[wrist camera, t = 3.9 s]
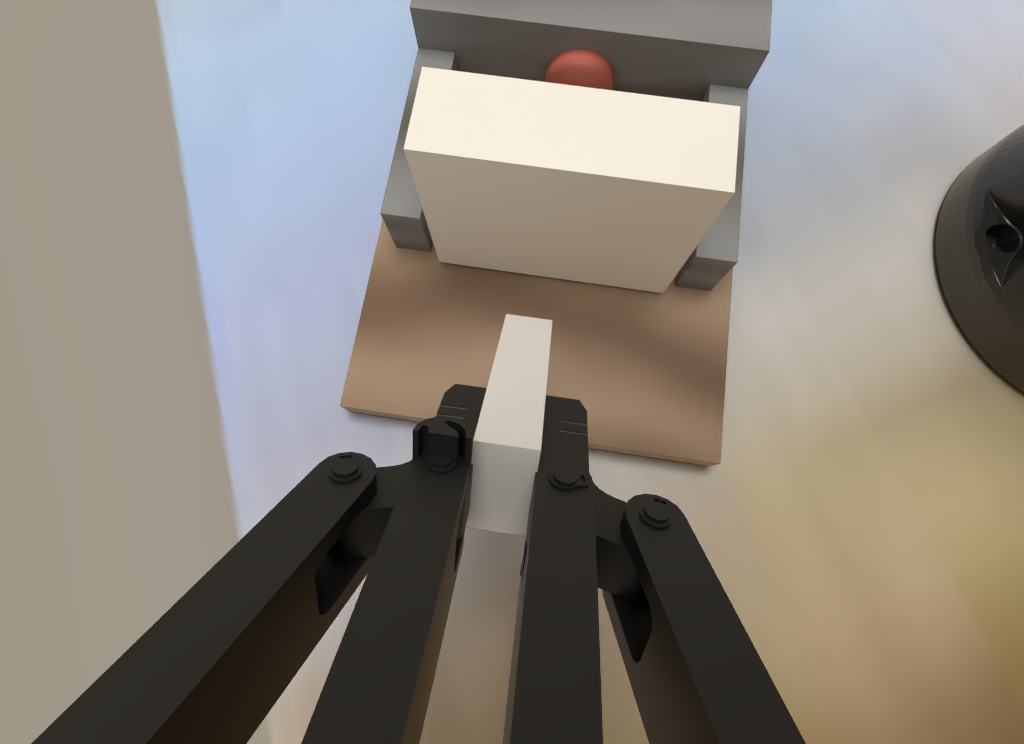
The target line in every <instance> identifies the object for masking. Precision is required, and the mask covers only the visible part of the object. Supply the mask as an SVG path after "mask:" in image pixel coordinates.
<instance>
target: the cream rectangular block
mask: <svg viewBox="0 0 1024 744" xmlns="http://www.w3.org/2000/svg"><path fill="white" fill-rule="evenodd" d="M739 120H740V106H733V105H725V104H717V103H709V102H701V101H693V100H685V99H677V98H669V97H661V96H653V95H645V94H637V93H629V92H621V91H613V90H605V89H597V88H589V87H581V86H573V85H565V84H557V83H549V82H541V81H533V80H525V79H517V78H509V77H501V76H493V75H485V74H477V73H469V72H461V71H453V70H445V69H437V68H429V67H422V70H421V74H420V78H419V83H418V87H417V92H416V96H415V101H414V105H413V109H412V114H411V118H410V123H409V127H408V131H407V136H406V140H405V145H404V152H405V155H406V158H407V162H408V165H409V168H410V171H411V174H412V177H413V181H414V184H415V187H416V190H417V193H418V196H419V200H420V203H421V206H422V209H423V212H424V215H425V218H426V222H427V225H428V228H429V231H430V234H431V237H432V241H433V244H434V247H435V250H436V253H437V256H438V260H439V262H443V263H450V264H458V265H465V266H472V267H479V268H486V269H493V270H500V271H508V272H515V273H522V274H529V275H536V276H543V277H550V278H558V279H565V280H572V281H579V282H586V283H593V284H600V285H608V286H615V287H622V288H629V289H636V290H643V291H651V292H658V293H664V292H665V290H666V289H667V287H668V286H669V285H670V283H671V282H672V280H673V279H674V278H675V276H676V275H677V273H678V272H679V270H680V269H681V268H682V266H683V265H684V263H685V262H686V261H687V259H688V258H689V256H690V255H691V254H692V252H693V251H694V249H695V248H696V247H697V245H698V244H699V242H700V241H701V239H702V238H703V237H704V235H705V234H706V232H707V231H708V230H709V228H710V227H711V225H712V224H713V223H714V221H715V220H716V218H717V217H718V216H719V214H720V213H721V211H722V210H723V208H724V207H725V206H726V204H727V203H728V201H729V200H730V199H731V197H732V196H733V194H734V193H735V181H736V166H737V150H738V135H739Z"/></svg>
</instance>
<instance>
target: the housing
mask: <svg viewBox="0 0 1024 744" xmlns="http://www.w3.org/2000/svg"><path fill="white" fill-rule="evenodd" d="M410 11H411V15H412V20H413V25H414V29H415V34H416V39H417V43H418V52H417V57H416V61H415V65H414V70H413V74H412V78H411V83H410V87H409V91H408V96H407V100H406V104H405V109H404V113H403V117H402V122H401V126H400V130H399V135H398V139H397V143H396V148H395V152H394V157H393V161H392V165H391V170H390V174H389V178H388V183H387V187H386V191H385V196H384V200H383V204H382V209H381V216H382V218H383V220H382V225H381V229H380V233H379V238H378V242H377V246H376V251H375V255H374V260H373V264H372V268H371V273H370V277H369V281H368V286H367V290H366V295H365V299H364V303H363V308H362V312H361V316H360V321H359V325H358V330H357V334H356V338H355V343H354V347H353V351H352V356H351V360H350V365H349V369H348V373H347V378H346V382H345V386H344V391H343V395H342V399H341V404H340V406H341V407H343V408H345V409H347V410H349V411H350V412H357V413H363V414H370V415H376V416H383V417H389V418H396V419H403V420H409V421H416V422H422V421H424V420H425V419H429V418H433V417H435V416H436V415H437V411H438V409H439V406H440V403H441V401H442V398H443V395H444V393H445V392H446V391H447V390H448V389H450V388H451V387H452V386H453V385H454V384H462V385H469V386H476V387H483V388H487V386H488V382H489V378H490V374H491V370H492V367H493V363H494V359H495V355H496V351H497V347H498V344H499V340H500V336H501V332H502V328H503V324H504V321H505V317H506V314H511V315H518V316H525V317H533V318H540V319H547V320H552V331H551V342H550V353H549V365H548V376H547V387H546V395H549V396H556V397H563V398H570V399H577V400H580V401H581V403H582V404H583V406H584V407H585V409H586V410H587V422H588V424H587V426H588V448H593V449H600V450H606V451H613V452H619V453H626V454H632V455H639V456H646V457H652V458H659V459H665V460H672V461H678V462H685V463H691V464H698V465H705V466H710V465H715V464H720V457H721V442H722V426H723V410H724V395H725V379H726V364H727V348H728V332H729V317H730V301H731V285H732V270H733V266H734V265H735V264H736V263H737V260H738V244H739V228H740V212H741V196H742V180H743V163H744V147H745V131H746V115H747V99H748V88H749V86H750V85H751V83H752V81H753V79H754V78H755V76H756V74H757V72H758V70H759V69H760V67H761V65H762V63H763V62H764V60H765V58H766V56H767V54H768V53H769V51H770V33H771V14H772V0H411V4H410ZM422 67H429V68H437V69H445V70H453V71H461V72H469V73H477V74H485V75H493V76H501V77H509V78H517V79H525V80H533V81H541V82H549V83H557V84H565V85H573V86H581V87H589V88H597V89H605V90H613V91H621V92H629V93H637V94H645V95H653V96H661V97H669V98H677V99H685V100H693V101H701V102H709V103H717V104H725V105H733V106H740V120H739V135H738V150H737V166H736V181H735V193H734V194H733V196H732V197H731V199H730V200H729V201H728V203H727V204H726V206H725V207H724V208H723V210H722V211H721V213H720V214H719V216H718V217H717V218H716V220H715V221H714V223H713V224H712V225H711V227H710V228H709V230H708V231H707V232H706V234H705V235H704V237H703V238H702V239H701V241H700V242H699V244H698V245H697V247H696V248H695V249H694V251H693V252H692V254H691V255H690V256H689V258H688V259H687V261H686V262H685V263H684V265H683V266H682V268H681V269H680V270H679V272H678V273H677V275H676V276H675V278H674V279H673V280H672V282H671V283H670V285H669V286H668V287H667V289H666V290H665V292H664V293H658V292H651V291H643V290H636V289H629V288H622V287H615V286H608V285H600V284H593V283H586V282H579V281H572V280H565V279H558V278H550V277H543V276H536V275H529V274H522V273H515V272H508V271H500V270H493V269H486V268H479V267H472V266H465V265H458V264H450V263H443V262H439V260H438V256H437V253H436V250H435V247H434V244H433V241H432V237H431V234H430V231H429V228H428V225H427V222H426V218H425V215H424V212H423V209H422V206H421V203H420V200H419V196H418V193H417V190H416V187H415V184H414V181H413V177H412V174H411V171H410V168H409V165H408V162H407V158H406V155H405V152H404V145H405V140H406V136H407V131H408V127H409V123H410V118H411V114H412V109H413V105H414V101H415V96H416V92H417V87H418V83H419V78H420V74H421V70H422Z"/></svg>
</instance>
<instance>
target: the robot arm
mask: <svg viewBox="0 0 1024 744" xmlns="http://www.w3.org/2000/svg"><path fill="white" fill-rule="evenodd" d="M935 247H936V261H937V269H938V273H939V278H940V282H941V285H942V289H943V292H944V294H945V297H946V300H947V302H948V305H949V307H950V309H951V311H952V313H953V315H954V317H955V319H956V321H957V323H958V324H959V326H960V327H961V329H962V331H963V332H964V334H965V335H966V337H967V338H968V339H969V341H970V342H971V344H972V345H973V346H974V347H975V349H976V350H977V351H978V352H979V353H980V355H981V356H982V357H983V358H984V359H985V360H986V361H987V362H988V363H989V364H990V365H991V366H992V367H993V368H994V369H995V370H996V371H997V372H998V373H999V374H1000V375H1001V376H1003V377H1004V378H1005V379H1006V380H1007V381H1008V382H1010V383H1011V384H1012V385H1014V386H1015V387H1016V388H1018V389H1019V390H1020V391H1022V392H1023V393H1024V125H1023V126H1021V127H1019V128H1018V129H1016V130H1015V131H1013V132H1012V133H1011V134H1009V135H1008V136H1006V137H1005V138H1004V139H1002V140H1001V141H1000V142H998V143H997V144H996V145H994V146H993V147H992V148H990V149H989V150H987V151H986V152H985V153H983V154H982V155H981V156H979V157H978V158H977V159H976V160H974V161H973V162H972V163H971V164H970V165H969V166H968V167H967V168H966V169H965V170H964V171H963V172H962V173H961V174H960V175H959V177H958V178H957V179H956V181H955V182H954V184H953V185H952V187H951V188H950V190H949V192H948V194H947V196H946V198H945V200H944V203H943V205H942V208H941V211H940V214H939V219H938V223H937V230H936V244H935ZM551 331H552V320H547V319H540V318H533V317H525V316H518V315H511V314H506V317H505V321H504V324H503V328H502V332H501V336H500V340H499V344H498V347H497V351H496V355H495V359H494V363H493V367H492V370H491V374H490V378H489V382H488V386H487V388H483V387H476V386H469V385H462V384H454V385H453V386H452V387H451V388H450V389H448V390H447V391H446V392H445V393H444V395H443V398H442V401H441V403H440V406H439V409H438V411H437V415H436V416H435V417H433V418H429V419H425V420H424V421H422V422H420V423H418V424H417V426H416V427H415V428H414V429H413V459H412V460H411V461H409V462H407V463H404V464H401V465H396V466H389V467H378V468H376V465H375V463H374V462H373V461H372V459H371V458H369V457H367V456H365V455H363V454H360V453H354V452H346V453H338V454H335V455H332V456H329V457H328V458H326V459H325V460H323V461H322V462H320V463H319V464H318V465H317V466H316V467H315V468H314V469H313V470H312V471H311V472H310V473H309V474H308V475H307V476H306V477H305V478H304V479H303V480H302V481H301V482H300V483H299V484H298V485H297V486H296V487H295V488H293V489H292V490H291V491H290V492H289V493H288V494H287V495H286V496H285V497H284V498H283V499H282V500H281V501H280V502H279V503H278V504H277V505H276V506H275V507H274V508H273V509H272V510H271V511H270V512H269V513H268V514H267V515H266V516H265V517H264V518H263V519H262V520H261V521H260V522H259V523H258V524H256V525H255V526H254V527H253V528H252V529H251V530H250V531H249V532H248V533H247V534H246V535H245V536H244V537H243V538H242V539H241V540H240V541H239V542H238V543H237V544H236V545H235V546H234V547H233V548H232V549H231V550H230V551H229V552H228V553H227V554H226V555H225V556H224V557H223V558H222V559H221V560H220V561H219V562H217V563H216V564H215V565H214V566H213V567H212V568H211V569H210V570H209V571H208V572H207V573H206V574H205V575H204V576H203V577H202V578H201V579H200V580H199V581H198V582H197V583H196V584H195V585H194V586H193V587H192V588H191V589H190V590H189V591H188V592H187V593H186V594H185V595H184V596H183V597H181V598H180V599H179V600H178V601H177V602H176V603H175V604H174V605H173V606H172V607H171V608H170V609H169V610H168V611H167V612H166V613H165V614H164V615H163V616H162V617H161V618H160V619H159V620H158V621H157V622H156V623H155V624H154V625H153V626H152V627H151V628H150V629H149V630H148V631H147V632H146V633H144V635H143V636H141V637H140V638H139V639H138V640H137V641H136V642H135V643H134V644H133V645H132V646H131V647H130V648H129V649H128V650H127V651H126V652H125V653H124V654H123V655H122V656H121V657H120V658H119V659H118V660H117V661H116V662H115V663H114V664H113V665H112V666H111V667H110V668H109V669H107V670H106V671H105V672H104V673H103V674H102V675H101V676H100V677H99V678H98V679H97V680H96V681H95V682H94V683H93V684H92V685H91V686H90V687H89V688H88V689H87V690H86V691H85V692H84V693H83V694H82V695H81V696H80V697H79V698H78V699H77V700H76V701H75V702H74V703H73V704H72V705H71V706H70V707H68V709H66V710H65V711H64V712H63V713H62V714H61V716H59V717H58V718H57V719H56V720H55V721H54V722H53V723H52V724H51V725H50V726H49V727H48V728H47V729H46V730H45V731H44V732H43V733H42V734H41V735H40V736H39V737H38V738H37V739H36V740H35V741H34V742H33V743H32V744H246V743H247V742H248V741H249V739H250V738H251V736H252V735H253V734H254V732H255V731H256V729H257V728H258V726H259V725H260V724H261V722H262V721H263V719H264V718H265V717H266V715H267V714H268V712H269V711H270V710H271V708H272V707H273V705H274V704H275V703H276V701H277V700H278V698H279V697H280V696H281V694H282V693H283V691H284V690H285V689H286V687H287V686H288V684H289V683H290V682H291V680H292V679H293V677H294V676H295V675H296V673H297V672H298V670H299V669H300V668H301V666H302V665H303V663H304V662H305V661H306V659H307V658H308V656H309V655H310V653H311V652H312V651H313V649H314V648H315V646H316V645H317V644H318V642H319V641H320V639H321V638H322V637H323V635H324V634H325V632H326V631H327V630H328V628H329V627H330V625H331V624H332V623H333V621H334V620H335V618H336V617H337V616H338V614H339V613H340V611H341V610H342V609H343V607H344V606H345V604H346V603H347V602H348V600H349V599H350V597H351V596H352V595H353V593H354V592H355V590H356V589H357V588H358V586H359V585H360V583H361V582H362V580H363V579H364V578H365V576H366V575H367V577H366V579H365V582H364V585H363V587H362V590H361V592H360V595H359V597H358V600H357V602H356V605H355V608H354V610H353V613H352V615H351V618H350V620H349V623H348V625H347V628H346V631H345V633H344V636H343V638H342V641H341V643H340V646H339V649H338V651H337V654H336V656H335V659H334V661H333V664H332V666H331V669H330V672H329V674H328V677H327V679H326V682H325V684H324V687H323V689H322V692H321V695H320V697H319V700H318V702H317V705H316V707H315V710H314V713H313V715H312V718H311V720H310V723H309V725H308V728H307V730H306V733H305V736H304V738H303V741H302V743H301V744H419V742H420V738H421V734H422V729H423V725H424V720H425V716H426V711H427V707H428V702H429V698H430V693H431V689H432V684H433V680H434V675H435V671H436V666H437V662H438V657H439V653H440V648H441V644H442V639H443V635H444V630H445V626H446V621H447V617H448V612H449V608H450V603H451V599H452V594H453V590H454V585H455V581H456V576H457V572H458V567H459V563H460V558H461V554H462V549H463V543H464V531H465V526H466V527H467V528H473V529H480V530H487V531H493V532H500V533H506V534H513V535H520V536H526V541H525V547H524V553H523V559H522V565H521V571H520V576H521V580H520V589H519V598H518V608H517V617H516V626H515V635H514V644H513V654H512V663H511V672H510V681H509V691H508V700H507V709H506V718H505V728H504V737H503V744H603V732H602V703H601V675H600V646H599V617H598V588H600V589H602V590H603V597H604V600H605V603H606V606H607V610H608V613H609V616H610V619H611V622H612V626H613V629H614V632H615V635H616V638H617V642H618V645H619V648H620V651H621V654H622V658H623V661H624V664H625V667H626V670H627V674H628V677H629V680H630V683H631V686H632V689H633V693H634V696H635V699H636V702H637V705H638V709H639V712H640V715H641V718H642V721H643V725H644V728H645V731H646V734H647V737H648V741H649V744H806V743H805V742H804V740H803V738H802V736H801V734H800V732H799V730H798V728H797V726H796V725H795V723H794V721H793V719H792V717H791V715H790V713H789V711H788V710H787V708H786V706H785V704H784V702H783V700H782V698H781V696H780V694H779V693H778V691H777V689H776V687H775V685H774V683H773V681H772V679H771V677H770V676H769V674H768V672H767V670H766V668H765V666H764V664H763V662H762V661H761V659H760V657H759V655H758V653H757V651H756V649H755V647H754V645H753V644H752V642H751V640H750V638H749V636H748V634H747V632H746V630H745V628H744V627H743V625H742V623H741V621H740V619H739V617H738V615H737V613H736V611H735V610H734V608H733V606H732V604H731V602H730V600H729V598H728V596H727V595H726V593H725V591H724V589H723V587H722V585H721V583H720V581H719V579H718V578H717V576H716V574H715V572H714V570H713V568H712V566H711V564H710V562H709V561H708V559H707V557H706V555H705V553H704V551H703V549H702V547H701V546H700V544H699V542H698V540H697V538H696V536H695V534H694V532H693V530H692V529H691V527H690V525H689V523H688V521H687V519H686V517H685V515H684V514H683V513H682V511H681V510H680V509H679V508H678V506H676V505H675V504H673V503H672V502H671V501H669V500H668V499H665V498H662V497H660V496H657V495H651V494H642V495H637V496H634V497H633V498H631V499H630V500H628V502H627V503H626V502H624V501H621V500H619V499H616V498H614V497H612V496H610V495H608V494H606V493H604V492H603V491H602V490H600V489H599V488H598V487H597V486H596V485H595V484H594V483H593V480H592V477H591V476H590V474H589V457H588V426H587V424H588V422H587V410H586V409H585V407H584V406H583V404H582V403H581V401H580V400H577V399H570V398H563V397H556V396H549V395H546V387H547V376H548V365H549V353H550V342H551ZM466 522H467V523H466ZM367 573H368V574H367ZM597 587H598V588H597Z"/></svg>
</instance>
